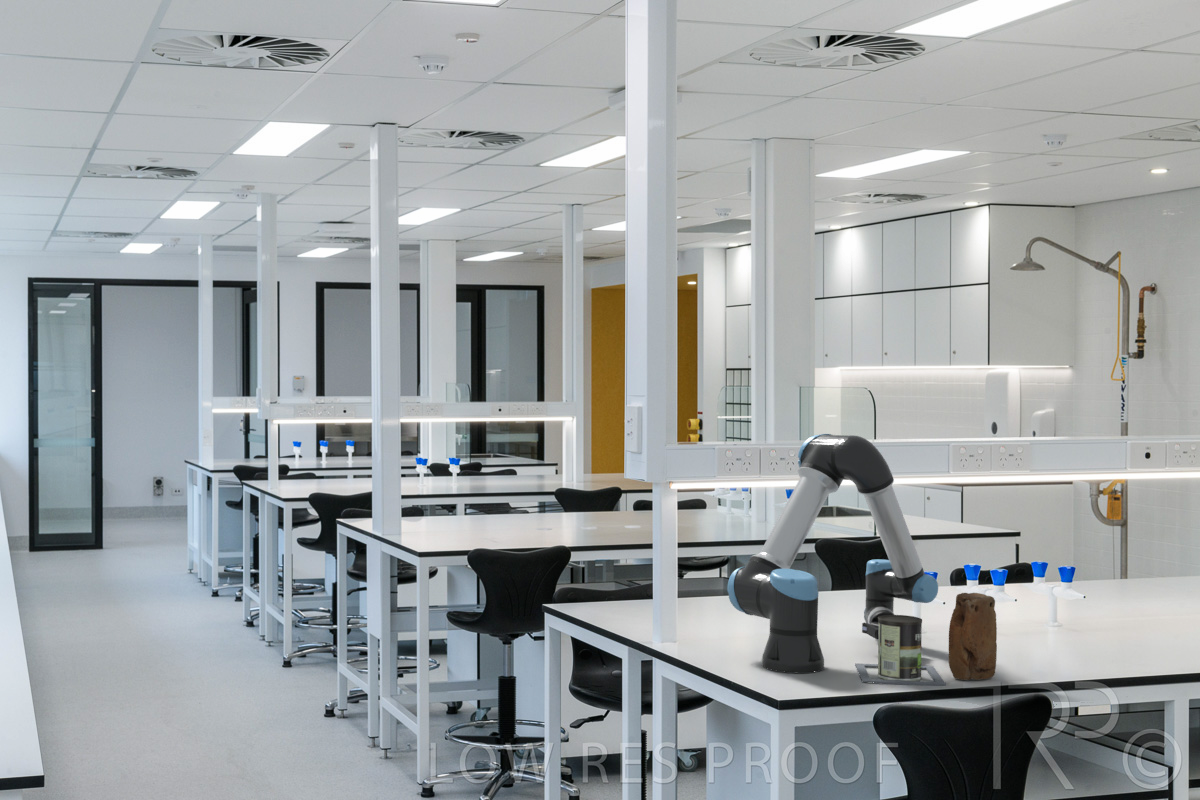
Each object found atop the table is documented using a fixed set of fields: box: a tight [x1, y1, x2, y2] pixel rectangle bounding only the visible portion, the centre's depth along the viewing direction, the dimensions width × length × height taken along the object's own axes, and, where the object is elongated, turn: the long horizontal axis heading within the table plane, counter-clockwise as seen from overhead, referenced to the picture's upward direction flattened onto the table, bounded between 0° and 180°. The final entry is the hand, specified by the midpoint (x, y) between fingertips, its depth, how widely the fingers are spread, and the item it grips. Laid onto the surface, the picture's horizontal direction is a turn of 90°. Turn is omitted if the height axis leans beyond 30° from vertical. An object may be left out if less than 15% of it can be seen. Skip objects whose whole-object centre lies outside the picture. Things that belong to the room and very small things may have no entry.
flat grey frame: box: [854, 663, 947, 687], centre depth 291 cm, size 19×19×1 cm
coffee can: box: [877, 614, 923, 681], centre depth 290 cm, size 10×10×14 cm
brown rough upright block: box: [948, 592, 998, 681], centre depth 289 cm, size 11×8×20 cm
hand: (894, 640), depth 301 cm, fingers closed
